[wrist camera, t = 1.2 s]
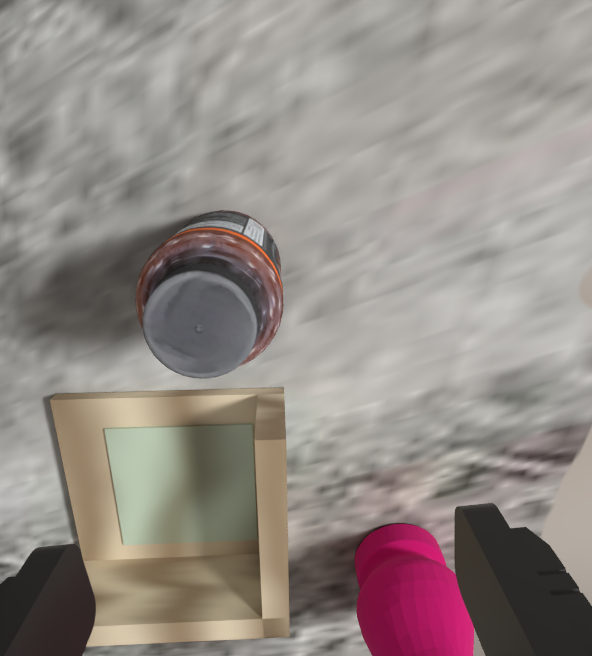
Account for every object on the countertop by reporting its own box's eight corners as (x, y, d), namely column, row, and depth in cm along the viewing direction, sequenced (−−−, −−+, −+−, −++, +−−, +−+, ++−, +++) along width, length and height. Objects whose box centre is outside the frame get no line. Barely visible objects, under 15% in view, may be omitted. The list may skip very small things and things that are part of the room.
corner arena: (90, 569, 34) (56, 647, 29) (55, 393, 29) (6, 448, 24) (287, 561, 35) (289, 636, 29) (283, 387, 30) (286, 439, 25)
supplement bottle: (271, 319, 28) (270, 418, 18) (170, 303, 28) (106, 395, 17) (289, 217, 26) (299, 260, 16) (180, 198, 26) (115, 229, 15)
